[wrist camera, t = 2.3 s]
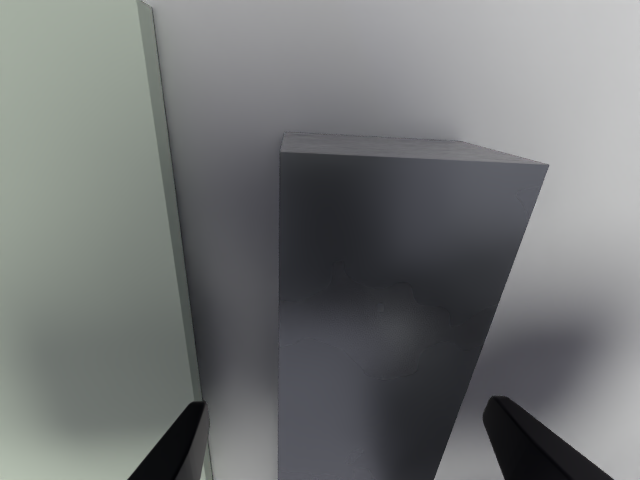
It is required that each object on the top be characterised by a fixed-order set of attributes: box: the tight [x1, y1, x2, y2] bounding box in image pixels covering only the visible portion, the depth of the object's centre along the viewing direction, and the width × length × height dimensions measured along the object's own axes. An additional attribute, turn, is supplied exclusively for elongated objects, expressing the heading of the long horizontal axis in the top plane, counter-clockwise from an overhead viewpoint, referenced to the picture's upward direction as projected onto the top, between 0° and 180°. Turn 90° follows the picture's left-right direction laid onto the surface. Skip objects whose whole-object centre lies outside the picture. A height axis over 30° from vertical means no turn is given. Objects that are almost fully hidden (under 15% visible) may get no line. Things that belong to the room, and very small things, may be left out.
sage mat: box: [0, 0, 213, 480], centre depth 9 cm, size 9×18×1 cm, turn 176°
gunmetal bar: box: [278, 132, 549, 480], centre depth 9 cm, size 4×14×3 cm, turn 177°
